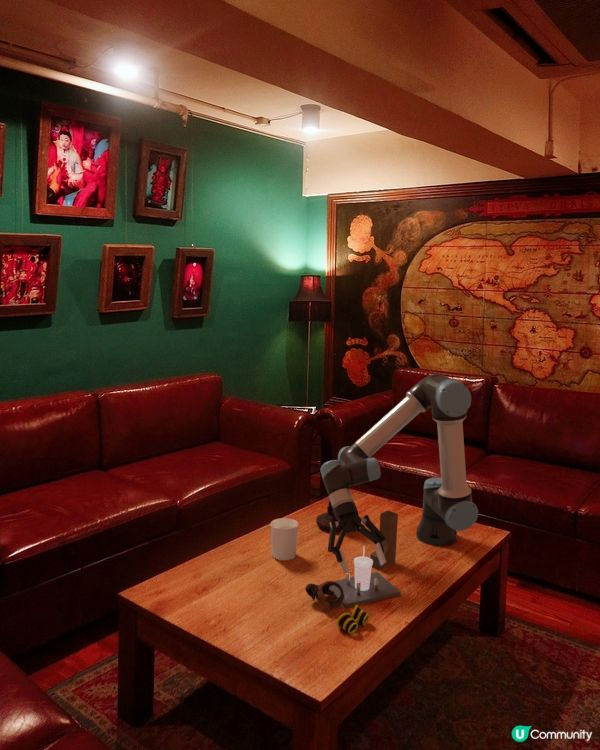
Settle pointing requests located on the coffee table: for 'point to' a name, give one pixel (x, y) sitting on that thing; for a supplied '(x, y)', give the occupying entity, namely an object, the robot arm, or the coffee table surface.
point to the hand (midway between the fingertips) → (365, 567)
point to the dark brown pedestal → (327, 518)
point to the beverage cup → (363, 571)
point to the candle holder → (284, 538)
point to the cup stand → (356, 597)
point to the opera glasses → (352, 620)
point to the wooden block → (387, 539)
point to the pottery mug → (324, 590)
